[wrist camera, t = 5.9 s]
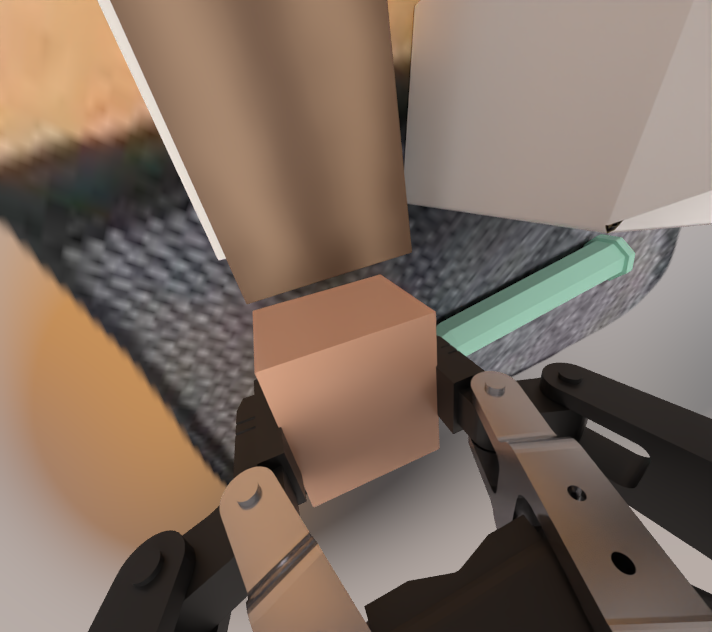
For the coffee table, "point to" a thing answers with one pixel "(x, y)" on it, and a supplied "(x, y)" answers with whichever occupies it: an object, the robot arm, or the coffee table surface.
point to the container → (537, 294)
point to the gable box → (563, 111)
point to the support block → (350, 381)
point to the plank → (281, 129)
